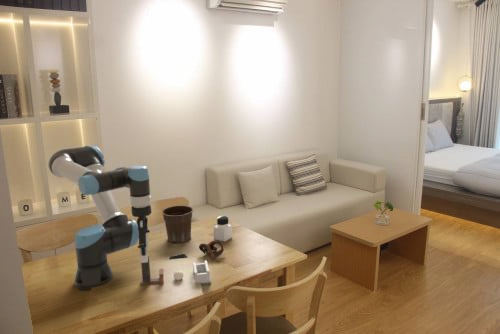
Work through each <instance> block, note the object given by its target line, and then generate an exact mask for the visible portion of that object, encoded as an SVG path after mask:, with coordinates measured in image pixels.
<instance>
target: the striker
mask: <svg viewBox="0 0 500 334" xmlns="http://www.w3.org/2000/svg"><path fill="white" fill-rule="evenodd" d="M140 265H141V266H140V267H141V278H142V279H140V283H139V284H140V286H143V285H151V284H152V285H153V284H159V285H164V283H165V280H164V268H158V276H159V277H155V278H151V267H150V256H148V262H145V263H141V262H140Z"/></svg>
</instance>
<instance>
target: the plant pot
mask: <svg viewBox="0 0 500 334" xmlns="http://www.w3.org/2000/svg"><path fill="white" fill-rule="evenodd" d="M193 211H194V208H193V207H191V206H189V205H172V206H168V207H166V208H164V209H162V211H161V214H162V217H163V220H164V226H165V230H166V235H167V240H168V242H170V243H173V244H174V243H176V244H183V243H185V242H188V241H189V240H190V239H191V238H192V218H193Z"/></svg>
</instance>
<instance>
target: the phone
mask: <svg viewBox="0 0 500 334" xmlns="http://www.w3.org/2000/svg"><path fill="white" fill-rule="evenodd" d="M188 258H189V257H188V256H187V255H186V254H185V253H180V254H177V255H170V256H169V258H168V260H179V259H188Z"/></svg>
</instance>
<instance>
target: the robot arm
mask: <svg viewBox="0 0 500 334" xmlns="http://www.w3.org/2000/svg"><path fill="white" fill-rule="evenodd" d="M105 165H106V163H105V159H104V154H103V152H102V151H101V149H100V148H99V147H98V146H96V145H95V146H94V145H85V146H81V147H74V148H64V149H61V150H58V151H56V152H54V154H52V155H51V156H50V158H49V160H48V169H49V171H50V172H51V173H52V174H53V175H54V176H56V177H58V178H60V179H61V178H62V179H63V178H65V179H66V180H68V181H70V182H72V183H74V184H76V185H77V186H78V189H79V191H80V192H81V194H82V195H84V196H89V195H90V197H91V198H92V201H93V202H94V205H95V207H96V209H97V211H98V214H99V215H100V218H101V219H102V224H94V225H91V224H90V225H88V226H86V227H83V228H81V229H80V230H78V231H77V232H76V233H75V235H74V247H75V254H76V262H77V264H76V265H77V268H76V272H75V276H74V285H75V288H76V289H78V290H82V291H91V290H92V288H97V287H101V286H104V285H105V284H107V283H108V282H111V280H112V279H113V277H114V272H113V271H112V268H111V266H110V264H109V263H108V262H109V261H108V258H107V257H108V256H107V255H110V254H112V253H116V252H119V251H122V250H125V249H129V248H130V247H133V246H135V245H136V244H138V245H137V249H139V257H140V264H141V263H145V262H148V249H150V243H149V242H150V241H149V233H150V229H149V228H148V220H149V219H148V217H147V216H150V215H151V214H152V204H151V199H152V198H153V197H152V196H151V190H150V189H151V188H150V175H149V168H148V166H146V165H133V166H130V167H125V166H119V167H116V168H115V169H114V170H109V171H103V170H104V167H105ZM123 188H128V189H129V194H130V195H129V196H130V197H129V199H130V205H131V207H130V208H131V215H132V216H133V217H135V218H137V219H136V220H134V219H133V218H131V219H130V218H129V217H128V215H127V214H125V213H123V212H122V211H121V209H120V206H119V205H118V203H117V201H116V198H115V196H114V194H113V192H112V191H113V190H117V189H123Z"/></svg>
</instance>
